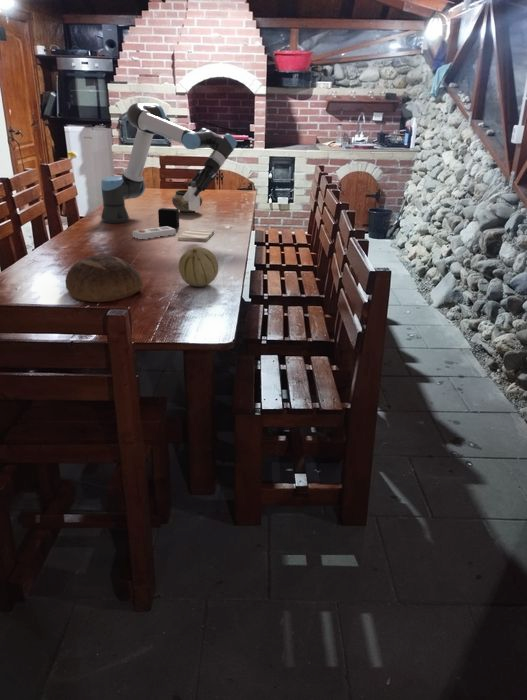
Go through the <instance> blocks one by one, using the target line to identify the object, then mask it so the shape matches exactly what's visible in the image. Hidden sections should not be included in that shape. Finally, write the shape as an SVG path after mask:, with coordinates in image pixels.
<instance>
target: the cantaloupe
mask: <svg viewBox="0 0 527 700" xmlns="http://www.w3.org/2000/svg"><path fill="white" fill-rule="evenodd" d="M178 271H179V274H180V277H181V279H182V280H183V281H184V282H185V283H186V284H188V285H190V286H192V287H197V288H198V287H205V286H207V285H210V284H211V283H213V281H215V279H216V277H217V275H218V273H219V263H218V260H217V257H216V256H215V254H214V253H213V252H212V251H211V250H210V249H208V248H205V247H201V246H196V247H191V248H189V249H187V250H186V251H184V253H183V254H182V255H181V257H180V258H179V261H178Z"/></svg>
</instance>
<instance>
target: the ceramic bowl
mask: <svg viewBox="0 0 527 700" xmlns="http://www.w3.org/2000/svg"><path fill="white" fill-rule="evenodd" d="M187 191H188V189H178V190H175V194H173V196H172V198H171V202H172V204H173V206H174V207H175V209H178V210H179V214H181V213H182V214H181V215H193V214H195V213H196V211H192V210H189V201H186V200H185V199H184V198H183V196H184V195H185V194H186V192H187ZM202 205H203V198H202V196H201V195H200V207H201V206H202Z"/></svg>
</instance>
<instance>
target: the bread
mask: <svg viewBox="0 0 527 700" xmlns="http://www.w3.org/2000/svg"><path fill="white" fill-rule="evenodd" d="M143 286H144V284H143V278H142V277H141V274H140V273H139V272H138V270H137V269H136V268H135V267H134V266H132V265H131V264H130V263H129V262H127V261H126V260H125V259H122V258H120V257H116V256H112V255H107V254H99V255H98V254H97V255H93V256H89V257H86V258H84V259H81V260H79V261H77V262H75V263H74V264H73V265H72V266H71V268H70V269H69V271H68V272H67V274H66V276H65V288H66V290H67V293H68V294H69V295H70V296H71V297H72V298H74V299H76V300H79V301H83V302H89V303H90V302H91V303H105V302H114V301H118V300H123V299H126V298H128V297H129V298H130V297H132V296H133V295H135V294H137V293H138V292H139V291H141V289H142V287H143Z"/></svg>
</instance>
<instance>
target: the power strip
mask: <svg viewBox="0 0 527 700" xmlns="http://www.w3.org/2000/svg"><path fill="white" fill-rule="evenodd" d="M177 232H178V233H179V229H178V228H177V229H174V228H171V227H169V226H164V227H159V226H158V227H152V228H151V227H150V228H144V229H135V230H132V238H134V237H135V239H137V238H138V239H137V240H139V239H145V240H149V239H148V238H151V239H155V238H154V237H158V238H161V237H160V236H164V237H169V236H168V235H171V236H175V235H174V234H176V233H177Z"/></svg>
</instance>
